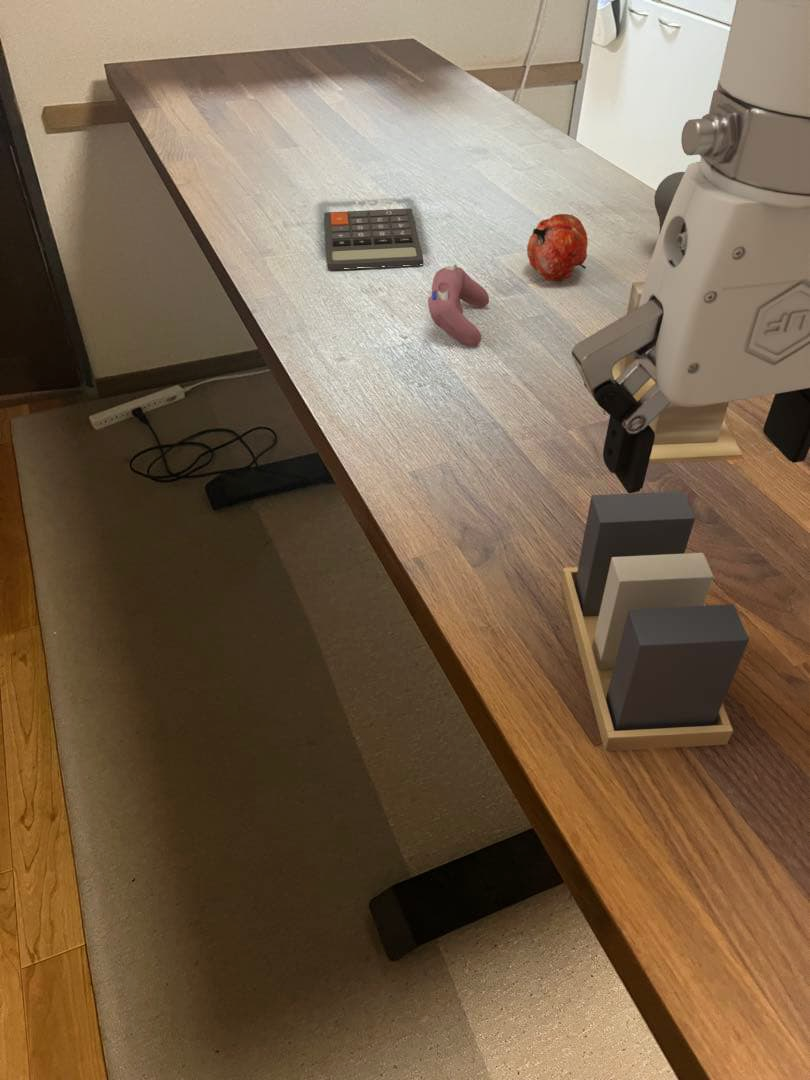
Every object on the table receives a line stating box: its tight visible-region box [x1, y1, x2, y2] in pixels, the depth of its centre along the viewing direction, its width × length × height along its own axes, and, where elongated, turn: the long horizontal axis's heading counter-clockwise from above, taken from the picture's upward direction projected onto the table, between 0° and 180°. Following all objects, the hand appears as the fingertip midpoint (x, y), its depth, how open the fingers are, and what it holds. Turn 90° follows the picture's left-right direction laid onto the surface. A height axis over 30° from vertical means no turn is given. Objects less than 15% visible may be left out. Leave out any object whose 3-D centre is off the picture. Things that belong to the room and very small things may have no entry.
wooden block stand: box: [612, 281, 743, 464], centre depth 79 cm, size 17×9×10 cm, turn 3°
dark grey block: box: [606, 603, 750, 731], centre depth 54 cm, size 3×6×10 cm, turn 93°
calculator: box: [323, 208, 424, 271], centre depth 109 cm, size 12×1×15 cm
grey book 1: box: [575, 490, 696, 617], centre depth 61 cm, size 3×6×10 cm, turn 93°
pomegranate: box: [526, 213, 589, 283], centre depth 101 cm, size 7×7×10 cm
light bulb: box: [653, 171, 685, 236], centre depth 103 cm, size 6×6×10 cm
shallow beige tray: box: [560, 566, 734, 752], centre depth 60 cm, size 15×8×2 cm, turn 3°
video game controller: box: [427, 264, 490, 347], centre depth 93 cm, size 10×5×7 cm, turn 170°
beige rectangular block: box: [592, 552, 715, 670], centre depth 58 cm, size 2×6×9 cm, turn 93°
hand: (703, 461), depth 47 cm, fingers open, 9 cm apart
